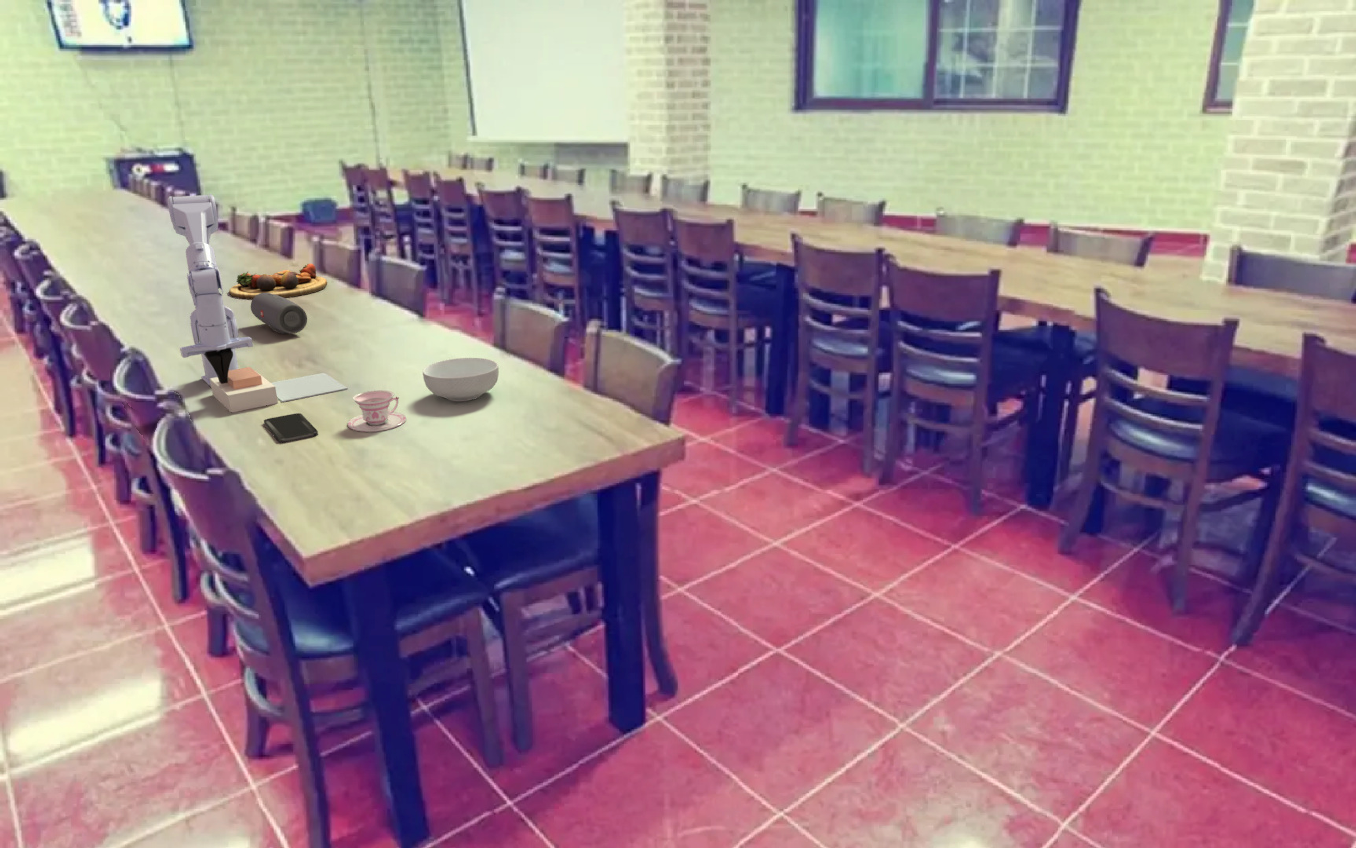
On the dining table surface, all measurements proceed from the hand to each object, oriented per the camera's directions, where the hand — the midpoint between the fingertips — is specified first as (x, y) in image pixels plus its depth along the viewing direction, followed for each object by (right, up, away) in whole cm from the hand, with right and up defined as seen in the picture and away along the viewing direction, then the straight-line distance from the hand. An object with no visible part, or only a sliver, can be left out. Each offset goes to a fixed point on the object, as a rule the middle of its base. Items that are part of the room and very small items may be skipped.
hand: (223, 382), depth 210 cm
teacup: (+38, -9, -11) cm, 41 cm away
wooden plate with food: (-37, +37, +117) cm, 128 cm away
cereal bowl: (+53, -3, +5) cm, 53 cm away
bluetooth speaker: (-14, +18, +63) cm, 67 cm away
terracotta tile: (+3, 0, +3) cm, 4 cm away
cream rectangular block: (+3, -4, +4) cm, 6 cm away
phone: (+21, -11, -15) cm, 28 cm away
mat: (+14, -1, +12) cm, 18 cm away
